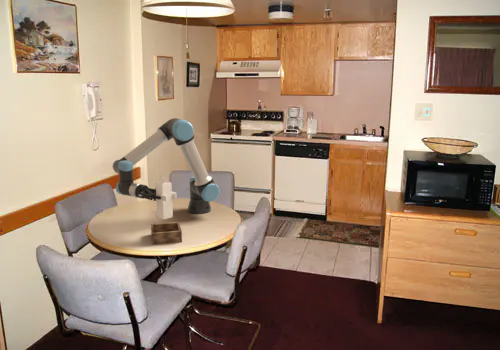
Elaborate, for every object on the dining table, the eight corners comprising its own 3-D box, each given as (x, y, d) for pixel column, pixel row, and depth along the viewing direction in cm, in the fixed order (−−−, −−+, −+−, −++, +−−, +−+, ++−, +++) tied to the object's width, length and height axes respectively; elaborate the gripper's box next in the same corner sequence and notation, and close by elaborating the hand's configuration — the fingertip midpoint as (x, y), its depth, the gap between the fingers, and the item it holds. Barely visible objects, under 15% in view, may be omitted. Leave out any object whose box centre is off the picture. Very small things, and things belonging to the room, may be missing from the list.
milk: (166, 214, 230) (164, 175, 226) (172, 217, 226) (171, 176, 222) (156, 217, 226) (155, 176, 222) (163, 219, 222) (162, 178, 218)
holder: (179, 232, 238) (179, 222, 237) (181, 242, 223) (181, 231, 222) (151, 234, 234) (150, 224, 233) (152, 244, 220) (151, 233, 218)
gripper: (152, 193, 242) (183, 199, 230) (126, 201, 225) (158, 208, 214) (151, 180, 240) (183, 185, 229) (125, 188, 224) (157, 194, 212)
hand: (171, 196), depth 221 cm, fingers closed on milk, 7 cm apart
